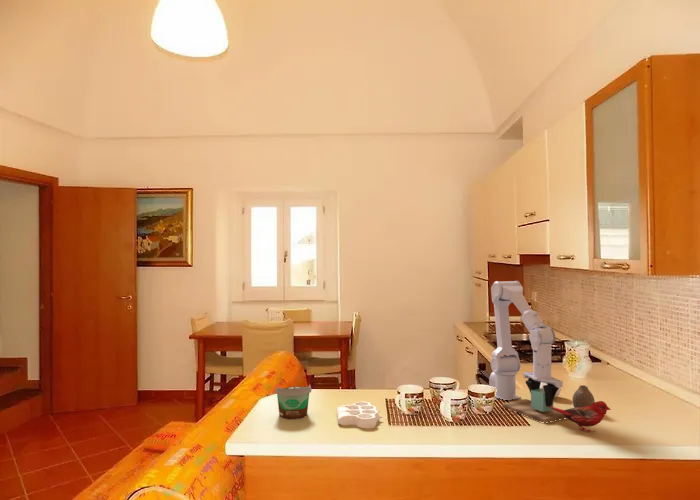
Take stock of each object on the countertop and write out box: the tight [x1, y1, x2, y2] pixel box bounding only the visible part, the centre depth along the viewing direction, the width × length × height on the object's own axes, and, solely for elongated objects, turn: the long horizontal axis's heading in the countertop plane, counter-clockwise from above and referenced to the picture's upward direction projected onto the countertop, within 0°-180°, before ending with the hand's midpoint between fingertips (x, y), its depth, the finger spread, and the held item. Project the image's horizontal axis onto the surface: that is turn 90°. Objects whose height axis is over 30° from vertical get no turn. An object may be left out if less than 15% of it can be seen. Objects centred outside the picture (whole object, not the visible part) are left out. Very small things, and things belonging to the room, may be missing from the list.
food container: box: [274, 383, 312, 420], centre depth 162 cm, size 12×6×10 cm, turn 105°
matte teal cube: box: [530, 388, 554, 412], centre depth 165 cm, size 5×5×6 cm
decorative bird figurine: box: [548, 400, 611, 433], centre depth 151 cm, size 3×18×10 cm, turn 61°
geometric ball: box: [540, 382, 562, 399], centre depth 186 cm, size 8×8×8 cm
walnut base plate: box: [501, 399, 566, 424], centre depth 167 cm, size 18×12×5 cm, turn 29°
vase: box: [572, 384, 596, 408], centre depth 169 cm, size 7×7×9 cm
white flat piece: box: [336, 401, 384, 429], centre depth 161 cm, size 3×18×15 cm
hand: (542, 403), depth 165 cm, fingers closed on matte teal cube, 5 cm apart
